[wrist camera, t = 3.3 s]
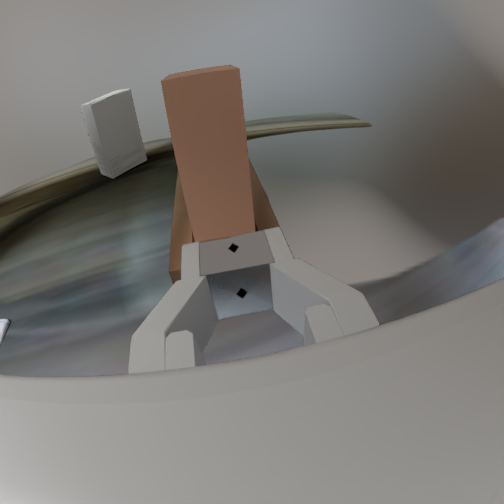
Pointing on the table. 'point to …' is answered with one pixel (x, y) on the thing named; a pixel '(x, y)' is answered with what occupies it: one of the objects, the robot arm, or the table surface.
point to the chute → (184, 231)
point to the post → (211, 150)
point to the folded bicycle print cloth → (3, 328)
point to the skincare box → (114, 132)
